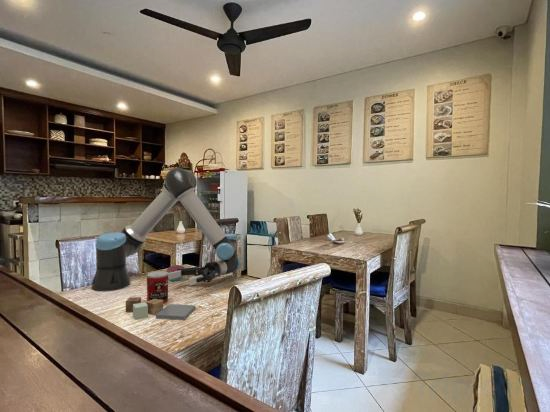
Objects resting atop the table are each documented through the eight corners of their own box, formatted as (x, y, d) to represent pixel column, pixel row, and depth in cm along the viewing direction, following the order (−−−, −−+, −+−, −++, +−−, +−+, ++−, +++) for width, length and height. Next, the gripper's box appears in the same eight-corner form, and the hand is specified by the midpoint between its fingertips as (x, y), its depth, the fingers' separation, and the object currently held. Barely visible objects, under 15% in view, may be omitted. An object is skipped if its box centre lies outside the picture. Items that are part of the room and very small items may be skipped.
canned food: (147, 306, 110) (147, 277, 110) (146, 299, 117) (146, 272, 117) (169, 303, 114) (169, 275, 113) (166, 297, 121) (166, 270, 121)
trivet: (155, 318, 100) (155, 314, 100) (169, 307, 110) (169, 304, 110) (184, 319, 99) (184, 316, 99) (195, 308, 109) (195, 305, 109)
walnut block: (125, 312, 105) (125, 301, 105) (129, 308, 109) (129, 297, 109) (137, 312, 105) (137, 300, 105) (140, 307, 109) (140, 297, 109)
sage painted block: (135, 319, 99) (135, 308, 99) (133, 315, 102) (133, 304, 102) (147, 317, 101) (147, 305, 101) (145, 313, 104) (145, 302, 104)
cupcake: (181, 282, 142) (181, 257, 141) (163, 281, 142) (163, 256, 141) (187, 277, 150) (187, 253, 150) (170, 277, 150) (170, 253, 150)
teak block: (146, 313, 104) (145, 302, 104) (155, 309, 108) (155, 298, 108) (154, 315, 103) (154, 304, 102) (163, 311, 106) (163, 300, 106)
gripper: (235, 281, 134) (199, 294, 117) (197, 272, 148) (159, 283, 130) (235, 264, 134) (199, 275, 116) (197, 257, 148) (159, 266, 130)
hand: (178, 279), depth 123 cm, fingers open, 13 cm apart
